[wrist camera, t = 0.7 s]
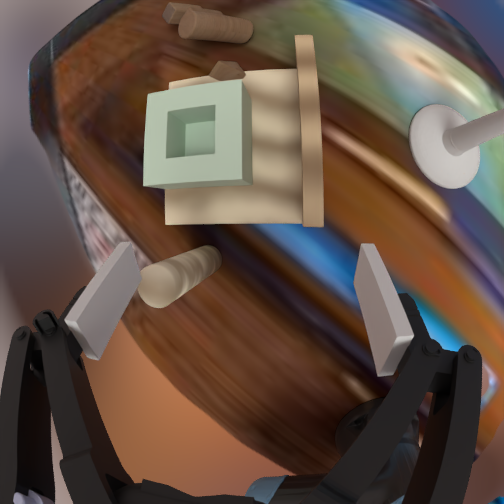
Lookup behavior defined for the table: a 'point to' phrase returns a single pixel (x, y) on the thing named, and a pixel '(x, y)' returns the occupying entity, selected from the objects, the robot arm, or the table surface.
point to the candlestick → (450, 143)
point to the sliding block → (199, 137)
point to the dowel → (177, 275)
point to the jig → (268, 154)
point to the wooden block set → (211, 32)
